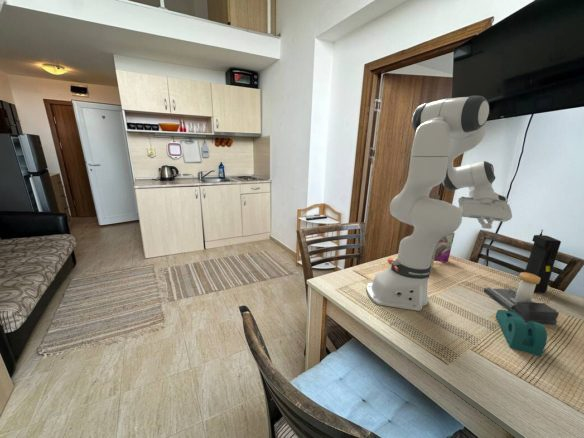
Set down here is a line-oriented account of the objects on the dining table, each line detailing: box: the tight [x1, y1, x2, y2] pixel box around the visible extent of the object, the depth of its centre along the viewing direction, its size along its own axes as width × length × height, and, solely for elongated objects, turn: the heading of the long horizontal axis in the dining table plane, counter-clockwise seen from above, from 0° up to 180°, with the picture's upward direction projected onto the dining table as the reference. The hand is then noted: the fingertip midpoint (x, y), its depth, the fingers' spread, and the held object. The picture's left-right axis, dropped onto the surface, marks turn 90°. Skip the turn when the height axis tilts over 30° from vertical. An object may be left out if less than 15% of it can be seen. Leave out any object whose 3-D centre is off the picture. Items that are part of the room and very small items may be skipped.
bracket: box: [495, 309, 548, 357], centre depth 75 cm, size 18×7×8 cm, turn 153°
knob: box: [508, 271, 541, 306], centre depth 85 cm, size 5×5×12 cm
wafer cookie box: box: [434, 232, 455, 263], centre depth 125 cm, size 11×5×16 cm, turn 77°
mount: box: [483, 286, 560, 326], centre depth 88 cm, size 19×10×5 cm, turn 177°
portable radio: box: [519, 229, 562, 294], centre depth 98 cm, size 8×6×25 cm
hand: (486, 228), depth 102 cm, fingers closed
